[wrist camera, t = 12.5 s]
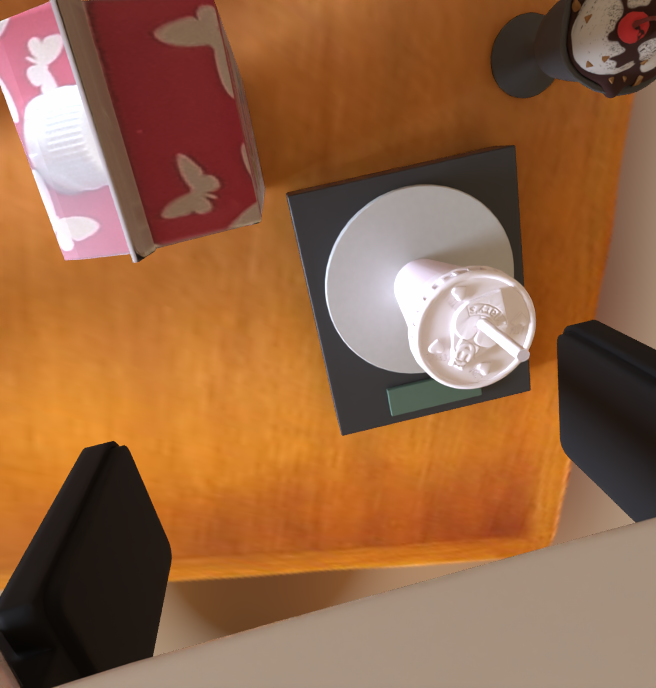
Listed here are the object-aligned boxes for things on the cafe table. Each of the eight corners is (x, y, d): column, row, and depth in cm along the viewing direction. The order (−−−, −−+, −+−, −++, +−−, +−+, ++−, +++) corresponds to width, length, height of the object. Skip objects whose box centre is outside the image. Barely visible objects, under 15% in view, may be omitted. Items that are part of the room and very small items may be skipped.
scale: (285, 192, 35) (287, 197, 31) (496, 145, 35) (521, 144, 31) (336, 417, 41) (343, 442, 38) (513, 374, 42) (536, 395, 38)
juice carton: (168, 206, 34) (17, 284, 14) (138, 99, 32) (-102, -4, 11) (265, 188, 34) (259, 238, 14) (242, 80, 32) (195, -54, 11)
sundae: (467, 104, 34) (606, 68, 20) (493, -13, 32) (670, -145, 18) (556, 121, 35) (749, 98, 21) (587, 9, 33) (825, -100, 19)
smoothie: (484, 261, 34) (619, 328, 21) (438, 344, 36) (536, 452, 23) (401, 221, 32) (491, 266, 19) (358, 309, 34) (413, 405, 21)
